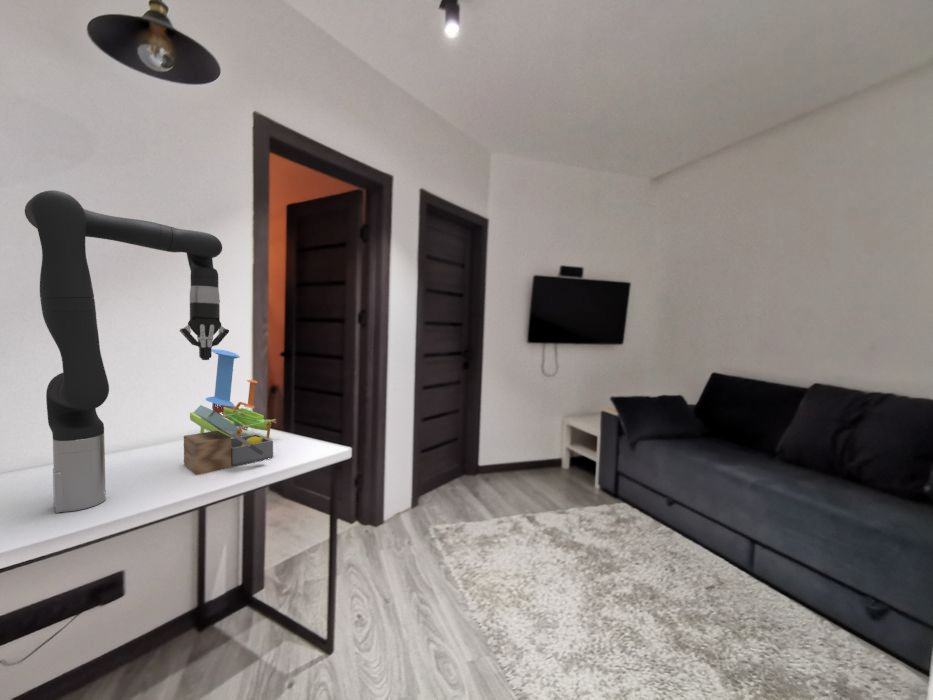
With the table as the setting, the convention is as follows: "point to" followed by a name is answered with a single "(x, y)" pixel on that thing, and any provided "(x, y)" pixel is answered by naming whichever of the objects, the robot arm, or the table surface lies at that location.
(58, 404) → the robot arm
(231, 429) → the tray
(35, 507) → the table surface
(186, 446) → the pedestal
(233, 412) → the catamaran
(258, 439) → the lemon
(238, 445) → the bin
